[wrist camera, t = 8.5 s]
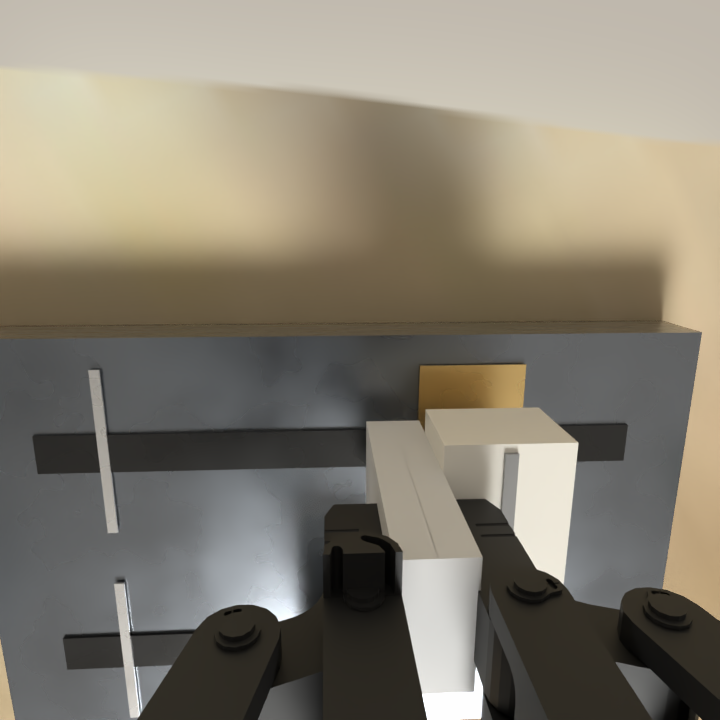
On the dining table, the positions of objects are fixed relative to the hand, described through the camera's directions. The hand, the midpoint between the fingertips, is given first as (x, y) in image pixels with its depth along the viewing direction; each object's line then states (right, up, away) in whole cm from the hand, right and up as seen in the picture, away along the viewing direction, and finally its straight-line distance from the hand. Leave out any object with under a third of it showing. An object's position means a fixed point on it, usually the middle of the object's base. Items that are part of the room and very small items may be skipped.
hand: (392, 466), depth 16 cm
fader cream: (+2, 0, +1) cm, 2 cm away
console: (-2, -3, +4) cm, 5 cm away
